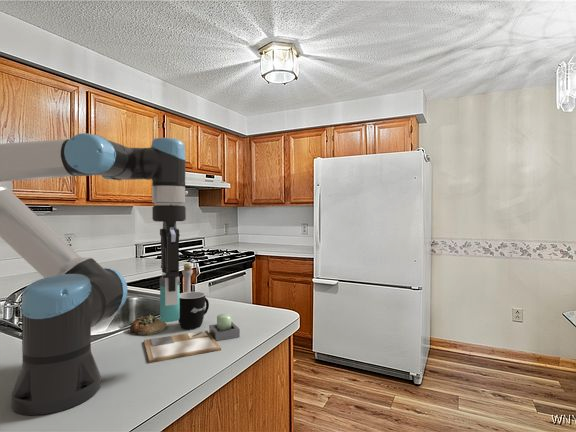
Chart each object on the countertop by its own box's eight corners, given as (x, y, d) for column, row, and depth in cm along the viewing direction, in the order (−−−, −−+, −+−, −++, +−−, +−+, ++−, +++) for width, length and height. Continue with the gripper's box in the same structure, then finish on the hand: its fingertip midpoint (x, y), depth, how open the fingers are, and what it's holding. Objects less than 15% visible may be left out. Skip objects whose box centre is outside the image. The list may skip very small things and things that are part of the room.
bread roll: (124, 328, 112) (127, 312, 112) (159, 325, 119) (162, 310, 119) (134, 340, 103) (137, 322, 103) (171, 336, 110) (174, 320, 110)
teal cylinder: (161, 323, 82) (160, 280, 82) (159, 317, 86) (158, 276, 86) (181, 320, 84) (181, 278, 84) (178, 315, 88) (178, 275, 88)
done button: (219, 332, 104) (219, 319, 103) (215, 328, 107) (215, 315, 107) (233, 330, 105) (233, 317, 105) (228, 326, 109) (228, 313, 109)
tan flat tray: (149, 362, 87) (149, 359, 87) (143, 341, 100) (143, 339, 100) (221, 350, 95) (221, 347, 95) (207, 332, 109) (207, 329, 109)
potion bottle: (192, 309, 132) (192, 261, 132) (204, 315, 126) (204, 264, 125) (169, 314, 126) (169, 264, 126) (181, 320, 120) (181, 267, 119)
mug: (189, 333, 108) (189, 299, 108) (170, 327, 113) (170, 295, 112) (217, 322, 118) (217, 292, 118) (198, 317, 123) (198, 288, 123)
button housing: (215, 341, 102) (215, 332, 101) (209, 333, 108) (209, 325, 108) (239, 337, 105) (239, 329, 105) (232, 329, 111) (232, 321, 111)
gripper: (192, 204, 78) (192, 309, 79) (179, 204, 94) (179, 292, 95) (156, 204, 75) (157, 313, 76) (149, 204, 91) (149, 295, 91)
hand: (169, 301), depth 85 cm, fingers closed on teal cylinder, 4 cm apart
